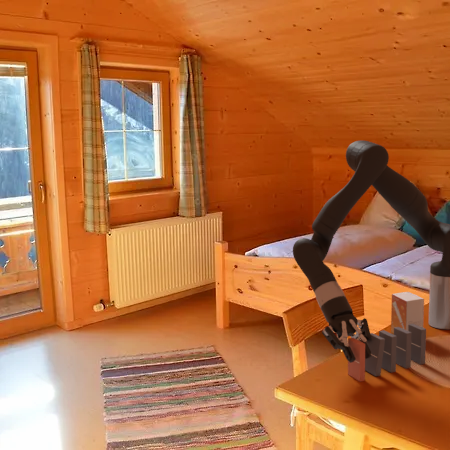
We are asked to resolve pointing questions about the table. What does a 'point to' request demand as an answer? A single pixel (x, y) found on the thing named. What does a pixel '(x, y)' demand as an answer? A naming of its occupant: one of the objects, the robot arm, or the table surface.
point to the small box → (406, 310)
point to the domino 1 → (357, 359)
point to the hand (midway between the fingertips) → (360, 359)
